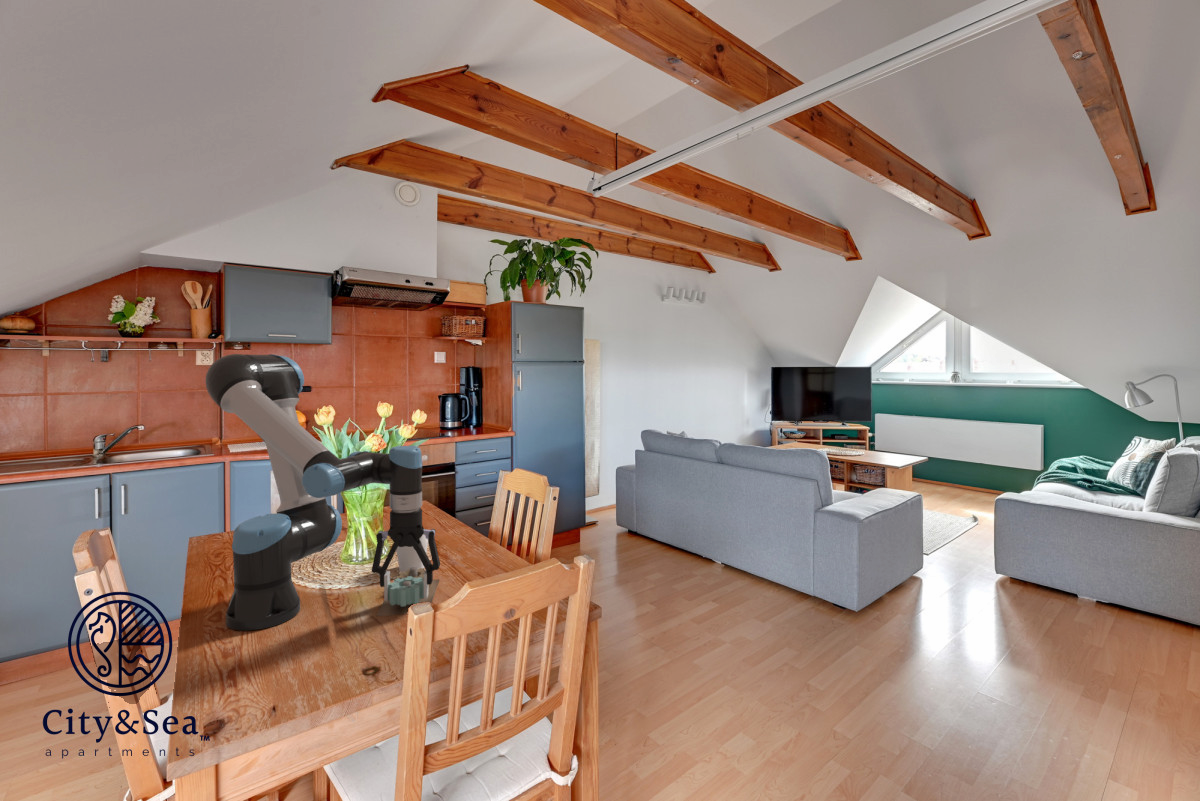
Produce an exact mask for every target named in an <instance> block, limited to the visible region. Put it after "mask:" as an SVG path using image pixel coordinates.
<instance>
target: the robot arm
mask: <svg viewBox="0 0 1200 801" xmlns="http://www.w3.org/2000/svg"><path fill="white" fill-rule="evenodd" d="M204 381H205V388H206V390H207V393H208V395H209V396H210V398H211V399H212V401H213V402H214V403H215V404H216V405H217V406H218V407H219V408H220V409H222V411H224V412H226V413H228V414H234V415H236V416H237V417H238V418H239V419H240V420H241V421H242V422H244V424H246V426H248V428H250V429H251V430H252V431H253V432H255V434H257V435H258V436H260V438H261V439H262V440H263V441H264V442H265V446H266V447H265V448H266V451H267V454H268V458H269V460H270V461H269V462H270V467H271V469H272V472H273V473H272V474H273V475H274V476H273V477H274V480H275V484H276V488H277V491H278V496H279V499H280V505H279V506H278V508H277V509H276V510H275V511H276V513H268V514H265V515H258V516H254V517H252V518H249V519H247V520H244V521H243V522H241V523H240V524H239V525H237V527H236V528H235V529H234V531H233V532H232V544H231V548H232V549H231V550H232V558H233V562H232V563H233V585H234V586H233V587H234V588H233V592H232V595H231V599H230V601H229V604H228V607H227V610H226V614H225V625H226V626H227V628H229V629H231V630H235V631H241V632H242V631H246V632H247V631H257V630H262V629H268V628H271V627H275V626H277V625H280V624H284V623H285V622H287V621H289V620H291V619H293V618H294V617H296V616H297V615H298V614H299V613H300V611H301V599H300V596H299V594H298V591H297V588H296V586H295V584H294V582H293V578H292V564H293V563H296V562H298V561H300V560H302V559H304V558H306V557H309V556H310V555H311V556H312V555H313V554H316V553H319V552H323V551H324V550H326V549H327V548H328V547H330V546H332V545H333V544H334V543H336V542H337V540H338V539H339V536H340V535H341V531H342V527H343V522H342V516H341V514H340V512H339V510H338V509H337V508H335V506H333V505H332V504H329V503H327V498H326V497H332V496H336V495H338V494H340V493H343V492H346V491H349V490H353V489H356V488H360V487H364V486H367V485H369V484H382V485H389V508H390V510H389V529H388V530H379V531H378V532H377V533H376V535H375V536H376V543H377V544H376V548H375V552H374V557H373V561H372V567H371V573H373V574H374V573H375V574H378V575H379V587H381V588H383V589H384V591H383V592H384V593H383V595H384V596H383V597H384V598H383V599H384V600H383V602H384V601H388V584H389V583H391V571H390V570H388V568H389V567H390V564H391V562H392V559H393V558H394V555H395V554H396V553H397V552H396V550H397V548H398V546H399V547H404V546H407V547H412V546H413V548H414V550H416V552H417V554H418V556H419V558H420V560H421V562H422V564H423V566H424V570H425V571H424V574H423V579H424V599H427V597H428V585H431V583H432V581H433V580H434V577H433V576H434V573H433V572H434V571H438V570H439V569H440V567H441V560H440V557H439V552H438V548H437V544H436V539H435V537H436V529H434V528H431V529H426V530H425V528H424V526H423V508H422V507H423V489H422V488H423V487H422V485H423V484H422V483H423V482H422V481H423V480H422V478H423V476H422V475H423V459H422V449H421V448H420V447H418V446H416V445H398V446H397V445H396V446H392V447H391V448H390V449H389V451H388V452H389V453H384V452H383V453H382V452H371V451H366V450H364V451H354V452H351V453H350V454H349V455H348V456H347V457H344V458H339V457H337V456H336V455H335V454H334V453H333V452H332V451H330V449H328V448H327V447H326V446H325V445H324V444H322V443H321V442H320V441H319V440H318V439H317V438H315V437H314V435H312V434H311V433H310V432H308V430H306V429H305V428H304V427H303V425H300V422H299V418H298V415H297V411H296V406H297V405H298V403H299V402H300V397H299V395H300V393H301V392H302V391H303V386H304V385H305V375H304V373H303V371H302V368H301V367H300V366H299V364H298V362H296V361H295V360H293V359H291V357H288V356H285V355H279V354H243V353H233V354H227V355H224V356H222V357H220V358H218V359H217V360H215V361H214V362H213V363H211V365H210V366H209V368H208V370H207V371H206V375H205V380H204ZM423 534H424V535H425V536H426V539H428V548H429V552H430V556H431V560H430V558H429V556H428V554H427V553H426V552H425V550H424V548H423V546H422V543H421V541H420V538H421V536H422V535H423ZM388 537H389V538H390V539H391V541H392V542H393V543H392V545H391V548H390V549H389V551H388V554H387V556H386V558H385V560H384V562H383V564H382V566H381V560H382V556H383V550H384V545H385V541H386V540H387V539H388ZM431 561H432V562H431Z"/></svg>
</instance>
